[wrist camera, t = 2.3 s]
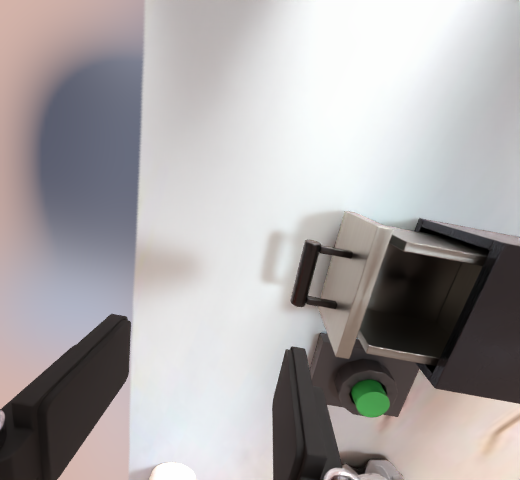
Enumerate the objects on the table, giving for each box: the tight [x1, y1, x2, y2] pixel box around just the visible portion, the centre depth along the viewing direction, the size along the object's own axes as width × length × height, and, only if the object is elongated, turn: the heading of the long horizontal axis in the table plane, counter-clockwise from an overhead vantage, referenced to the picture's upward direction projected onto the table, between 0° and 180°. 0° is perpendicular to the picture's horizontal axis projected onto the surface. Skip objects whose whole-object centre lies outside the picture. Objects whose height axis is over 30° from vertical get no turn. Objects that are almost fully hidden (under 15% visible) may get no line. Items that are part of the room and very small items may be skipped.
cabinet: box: [415, 218, 520, 404], centre depth 23 cm, size 15×13×10 cm
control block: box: [310, 333, 419, 417], centre depth 29 cm, size 12×9×4 cm
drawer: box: [290, 211, 490, 366], centre depth 22 cm, size 18×11×8 cm, turn 80°
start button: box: [351, 379, 390, 417], centre depth 27 cm, size 4×4×2 cm
